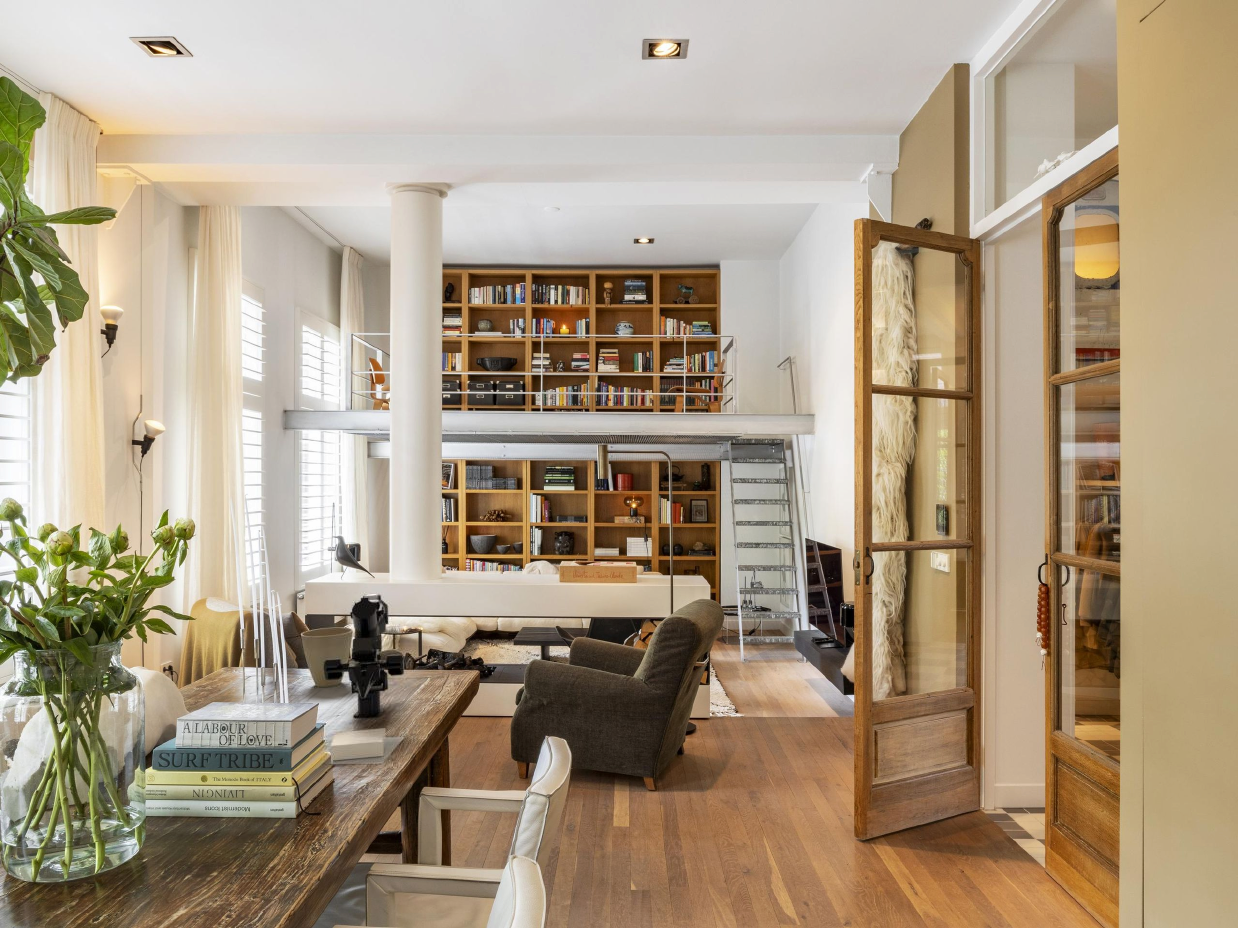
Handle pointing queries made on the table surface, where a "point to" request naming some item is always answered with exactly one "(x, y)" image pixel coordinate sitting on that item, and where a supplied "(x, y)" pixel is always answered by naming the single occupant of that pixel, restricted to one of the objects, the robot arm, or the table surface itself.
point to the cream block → (358, 744)
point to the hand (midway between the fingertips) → (362, 697)
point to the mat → (389, 747)
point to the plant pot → (326, 651)
